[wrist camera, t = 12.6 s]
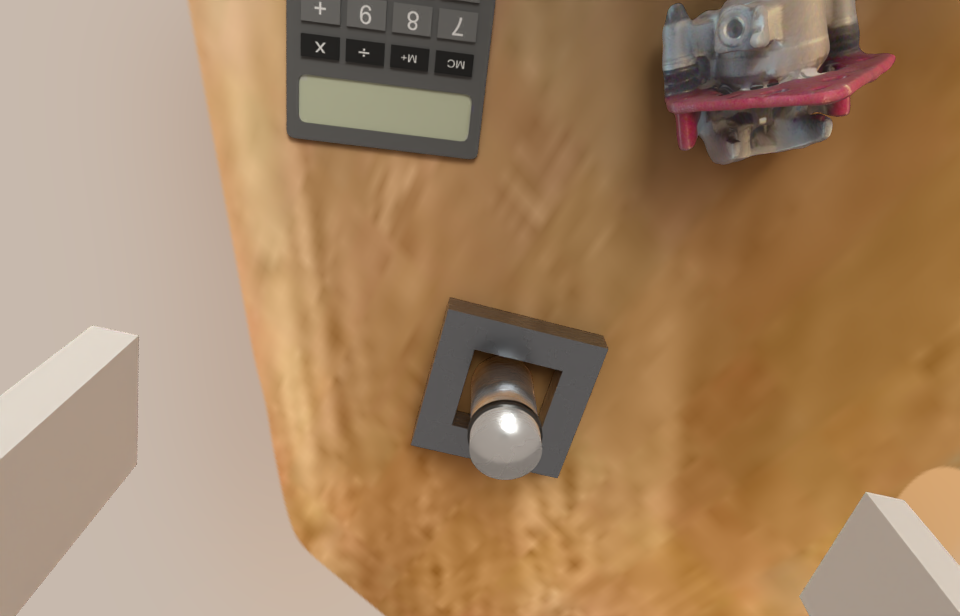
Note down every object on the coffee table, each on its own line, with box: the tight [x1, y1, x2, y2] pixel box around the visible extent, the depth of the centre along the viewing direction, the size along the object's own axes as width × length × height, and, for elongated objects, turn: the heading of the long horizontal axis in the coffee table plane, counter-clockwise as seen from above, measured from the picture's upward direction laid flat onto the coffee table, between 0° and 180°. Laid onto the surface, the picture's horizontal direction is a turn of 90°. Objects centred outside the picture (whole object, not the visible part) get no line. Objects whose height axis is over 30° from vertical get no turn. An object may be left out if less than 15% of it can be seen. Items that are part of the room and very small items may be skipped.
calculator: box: [287, 0, 495, 159], centre depth 36 cm, size 12×1×15 cm
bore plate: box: [411, 298, 608, 478], centre depth 45 cm, size 11×11×2 cm
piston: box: [467, 356, 543, 480], centre depth 42 cm, size 5×5×8 cm
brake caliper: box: [662, 0, 895, 165], centre depth 33 cm, size 11×11×12 cm
